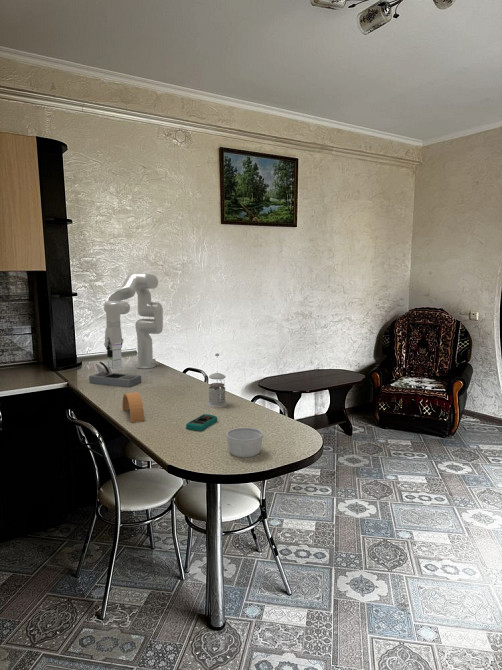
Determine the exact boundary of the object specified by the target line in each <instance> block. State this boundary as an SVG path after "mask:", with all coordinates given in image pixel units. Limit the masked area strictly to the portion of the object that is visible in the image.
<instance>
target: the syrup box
mask: <svg viewBox="0 0 502 670" xmlns="http://www.w3.org/2000/svg"><path fill="white" fill-rule="evenodd" d="M109 347H110V346H109ZM112 350H113V357H107V365H108V368H110V369H112V370H116V369H121V368H123V367H122V366H123V361H122V348H121V343H120V342H118V343H115V345H113V346H112Z"/></svg>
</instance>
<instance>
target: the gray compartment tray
mask: <svg viewBox="0 0 502 670" xmlns="http://www.w3.org/2000/svg"><path fill="white" fill-rule="evenodd" d="M88 379H89V384H91V385H92V384H93V385H102V386H104V385H105V386H110V385H111V386H112V387H119V388H121V387H122V388H131V387H134V386H136V385H138V384H141V383H142V375H139V374H129V373H127V374H126V373H119V372H118V373H117V372H112V373H109V372H101V373H99V372H98V373H96V374H92V375H90V376H89V377H88Z"/></svg>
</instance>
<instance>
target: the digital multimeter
mask: <svg viewBox="0 0 502 670" xmlns="http://www.w3.org/2000/svg"><path fill="white" fill-rule="evenodd" d="M217 422H218V416H216V415H212V414H210V413H209V414H207V413H206V414H205V413H203V414H201V415H200V416H197V417H196V418H194V419H192V420H190V421H189V422H187V423H186V424H185V426H186V427H185V429H186V430H190V431H197V432H202V431H204V430H205V429H207V428H208V427H210V426H211V425H213V424H215V423H217Z"/></svg>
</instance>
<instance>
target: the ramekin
mask: <svg viewBox="0 0 502 670" xmlns="http://www.w3.org/2000/svg"><path fill="white" fill-rule="evenodd" d="M225 437H226V441H227V449H228V451H229V453H230V454H231V455H233V456H234V457H238V458H251V457H255V456H257V455H258V454H259V453H260V452H261V450H262V444H263V438H264V433H263V431H262V430H260V429H258V428H255V427H246V426H245V427H244V426H243V427H242V426H241V427H236V428H232V429H230V430H227V432H226V434H225Z"/></svg>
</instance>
